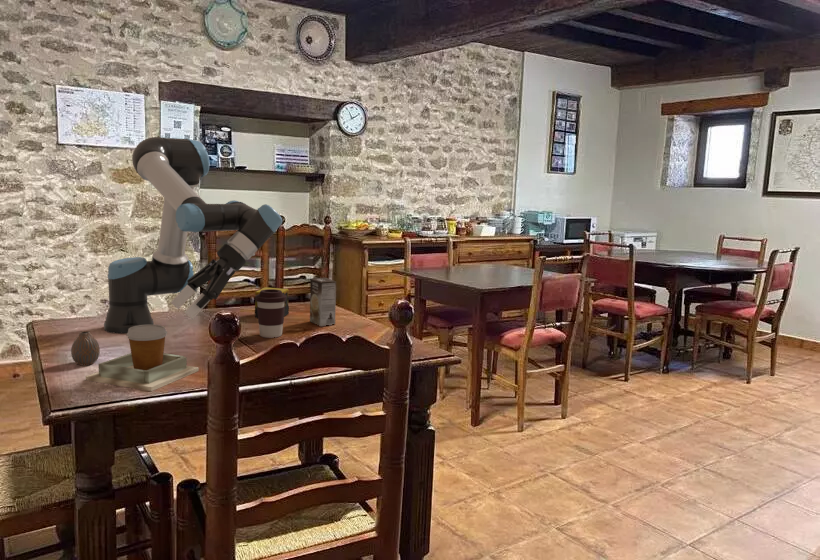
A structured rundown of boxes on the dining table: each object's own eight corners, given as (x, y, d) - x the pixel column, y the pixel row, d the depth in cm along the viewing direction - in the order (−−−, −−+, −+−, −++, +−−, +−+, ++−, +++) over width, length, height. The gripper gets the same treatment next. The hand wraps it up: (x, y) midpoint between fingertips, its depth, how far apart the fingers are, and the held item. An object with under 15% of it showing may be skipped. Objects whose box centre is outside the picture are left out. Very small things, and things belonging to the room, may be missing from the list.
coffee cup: (278, 340, 204) (279, 294, 202) (250, 337, 206) (250, 292, 204) (290, 333, 214) (291, 289, 212) (263, 330, 216) (263, 287, 213)
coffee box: (308, 321, 232) (309, 278, 230) (324, 319, 236) (325, 277, 233) (320, 326, 225) (320, 282, 222) (336, 325, 228) (337, 280, 226)
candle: (264, 312, 245) (264, 287, 243) (289, 314, 243) (289, 288, 242) (253, 318, 235) (253, 291, 233) (280, 320, 233) (280, 293, 232)
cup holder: (85, 380, 159) (85, 364, 158) (137, 361, 176) (137, 347, 175) (151, 391, 153) (151, 375, 152) (198, 371, 170) (198, 356, 169)
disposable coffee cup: (173, 375, 162) (172, 329, 160) (134, 382, 156) (132, 334, 154) (161, 366, 169) (160, 322, 167) (123, 372, 163) (121, 326, 161)
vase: (81, 368, 168) (79, 336, 167) (66, 364, 172) (64, 332, 170) (105, 362, 174) (104, 331, 172) (90, 358, 177) (89, 327, 176)
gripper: (262, 267, 165) (205, 329, 159) (231, 255, 185) (179, 310, 179) (242, 247, 161) (183, 310, 155) (212, 238, 181) (158, 293, 175)
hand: (180, 310), depth 167 cm, fingers open, 13 cm apart
